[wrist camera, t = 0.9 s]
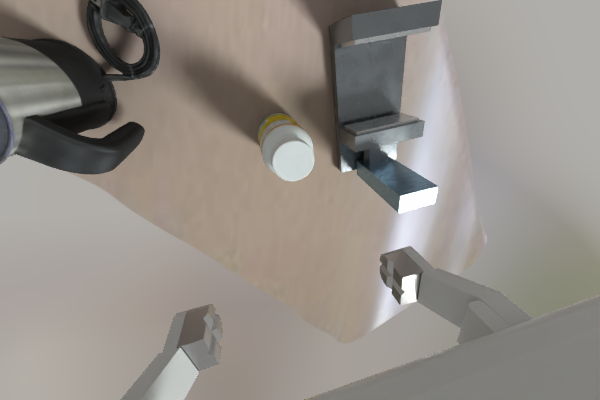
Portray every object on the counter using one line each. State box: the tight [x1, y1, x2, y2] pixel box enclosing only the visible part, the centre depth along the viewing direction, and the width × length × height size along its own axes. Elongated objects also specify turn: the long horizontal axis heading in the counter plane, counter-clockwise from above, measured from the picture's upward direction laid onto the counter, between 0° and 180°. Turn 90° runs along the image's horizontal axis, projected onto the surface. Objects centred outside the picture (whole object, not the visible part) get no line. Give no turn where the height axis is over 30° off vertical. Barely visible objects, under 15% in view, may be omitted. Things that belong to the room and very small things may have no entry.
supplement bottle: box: [258, 113, 314, 181], centre depth 29 cm, size 6×6×11 cm
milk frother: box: [0, 0, 160, 174], centre depth 19 cm, size 14×16×15 cm
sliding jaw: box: [339, 113, 438, 213], centre depth 31 cm, size 9×10×12 cm
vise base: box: [329, 0, 442, 172], centre depth 31 cm, size 20×10×7 cm, turn 9°
